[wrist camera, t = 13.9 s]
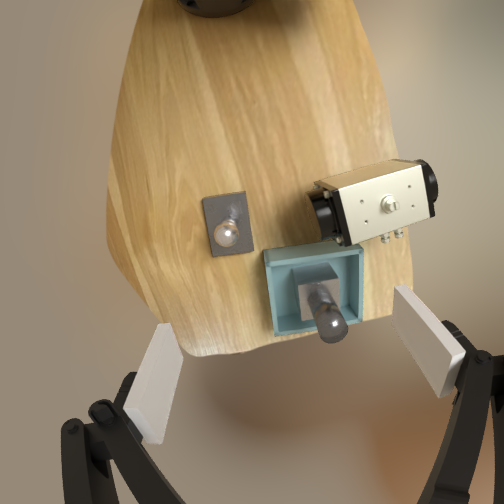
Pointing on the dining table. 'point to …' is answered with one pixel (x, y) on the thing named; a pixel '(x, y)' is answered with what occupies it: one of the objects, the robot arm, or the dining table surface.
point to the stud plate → (231, 210)
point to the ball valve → (372, 201)
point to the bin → (285, 258)
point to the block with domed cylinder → (320, 300)
